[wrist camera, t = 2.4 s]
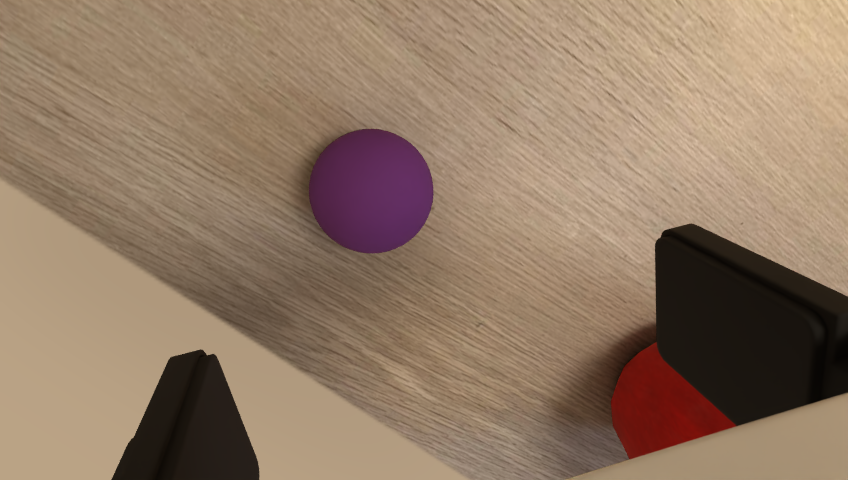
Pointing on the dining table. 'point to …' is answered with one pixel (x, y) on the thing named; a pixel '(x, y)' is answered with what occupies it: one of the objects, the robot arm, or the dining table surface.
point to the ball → (371, 191)
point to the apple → (660, 407)
